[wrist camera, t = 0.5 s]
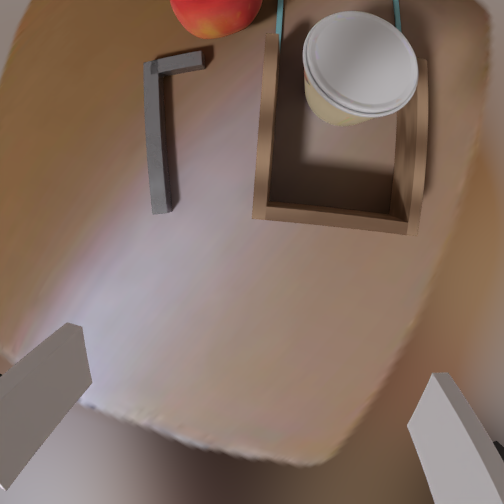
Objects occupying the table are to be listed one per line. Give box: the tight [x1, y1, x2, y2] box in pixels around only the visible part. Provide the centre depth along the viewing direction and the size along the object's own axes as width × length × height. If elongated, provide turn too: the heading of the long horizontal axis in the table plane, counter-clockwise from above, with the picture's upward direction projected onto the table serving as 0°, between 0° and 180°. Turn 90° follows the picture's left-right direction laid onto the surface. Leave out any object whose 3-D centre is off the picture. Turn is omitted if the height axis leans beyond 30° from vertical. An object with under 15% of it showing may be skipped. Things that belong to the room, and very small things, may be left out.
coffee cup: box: [303, 11, 418, 126], centre depth 25 cm, size 9×9×12 cm
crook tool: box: [144, 51, 205, 214], centre depth 32 cm, size 18×7×2 cm, turn 4°
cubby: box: [252, 33, 428, 236], centre depth 29 cm, size 18×16×6 cm
